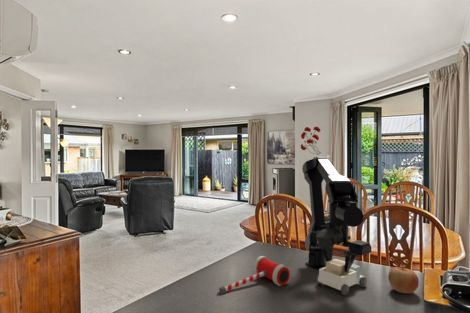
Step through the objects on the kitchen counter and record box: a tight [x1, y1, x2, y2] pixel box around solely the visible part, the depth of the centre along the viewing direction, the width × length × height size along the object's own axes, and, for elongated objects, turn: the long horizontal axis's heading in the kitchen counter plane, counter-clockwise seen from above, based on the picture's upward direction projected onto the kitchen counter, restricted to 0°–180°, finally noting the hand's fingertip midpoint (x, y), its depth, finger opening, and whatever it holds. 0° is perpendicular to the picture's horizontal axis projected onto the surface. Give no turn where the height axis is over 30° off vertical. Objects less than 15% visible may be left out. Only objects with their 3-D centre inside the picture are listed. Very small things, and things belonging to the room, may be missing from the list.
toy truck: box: [315, 263, 368, 296], centre depth 96 cm, size 13×10×6 cm
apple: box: [387, 264, 420, 294], centre depth 92 cm, size 8×8×8 cm
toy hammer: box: [218, 255, 291, 295], centre depth 95 cm, size 23×12×6 cm, turn 125°
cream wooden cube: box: [326, 258, 349, 276], centre depth 94 cm, size 5×5×5 cm
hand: (337, 269), depth 94 cm, fingers open, 6 cm apart
